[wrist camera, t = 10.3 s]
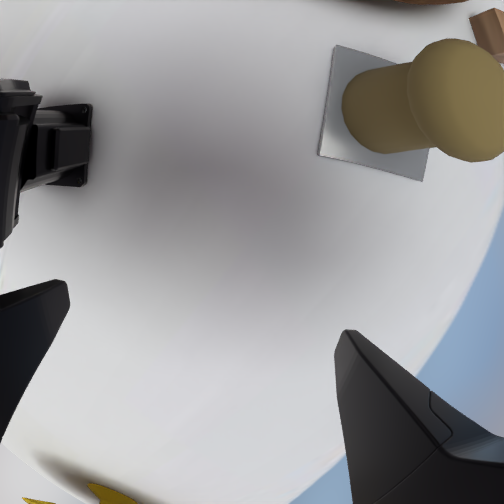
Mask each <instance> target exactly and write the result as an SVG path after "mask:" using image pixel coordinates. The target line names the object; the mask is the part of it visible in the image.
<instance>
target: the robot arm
mask: <svg viewBox="0 0 504 504" xmlns="http://www.w3.org/2000/svg"><path fill="white" fill-rule="evenodd" d="M41 99H42V96H41V95H37V94H35V92H34V91H31V90H30V87H29V83H28V81H24V80H14V79H0V248H2V247H3V245H4V240H5V239H6V238H7V237H8V236H9V235H10V234H11V233H12V230H13V228H14V227H15V226H16V225H17V224H18V220H19V215H18V205H19V196H20V192H23V191H26V190H29V189H31V188H34V187H38V186H41V185H44V184H45V185H60V186H73V187H81V186H84V185H85V184H86V181H87V162H88V158H89V143H90V131H91V130H90V123H91V114H92V106H91V105H90V104H73V105H63V106H54V107H46V108H38V104H40V102H41ZM37 108H38V109H37ZM85 108H87V111H86V112H84V110H85ZM80 178H81V180H82V181H81V183H80V181H79V179H80ZM69 308H70V299H69V293H68V287H67V284H66V282H65V281H62V280H58V279H54V280H50V281H47V282H43V283H40V284H36V285H33V286H29V287H26V288H22V289H19V290H16V291H12V292H9V293H6V294H2V295H0V443H1V440H2V437H3V435H4V433H5V431H6V429H7V426H8V424H9V422H10V420H11V418H12V416H13V414H14V412H15V410H16V407H17V405H18V403H19V401H20V400H21V398H22V396H23V394H24V392H25V390H26V388H27V386H28V384H29V382H30V381H31V379H32V377H33V375H34V373H35V372H36V370H37V368H38V366H39V365H40V363H41V361H42V359H43V358H44V356H45V354H46V353H47V351H48V349H49V348H50V346H51V344H52V342H53V340H54V338H55V336H56V334H57V332H58V330H59V328H60V326H61V324H62V322H63V320H64V318H65V316H66V314H67V313H68V311H69ZM334 361H335V375H336V392H337V401H338V407H339V413H340V418H341V424H342V430H343V436H344V443H345V449H346V456H347V463H348V470H349V476H350V485H351V493H352V501H353V504H504V438H503V437H499V436H496V435H494V434H492V433H490V432H488V431H487V430H486V429H484V428H483V427H481V426H480V425H478V424H477V423H475V422H474V421H472V420H471V419H469V418H468V417H466V416H465V415H463V414H462V413H461V412H459V411H458V410H456V409H455V408H453V407H452V406H451V405H449V404H448V403H447V402H445V401H444V400H443V399H441V398H440V397H439V396H438V395H437V394H435V393H434V392H433V391H430V389H429V388H428V387H426V386H425V385H424V384H423V383H422V382H420V381H419V380H418V379H417V378H415V377H414V376H413V375H412V374H410V373H409V372H408V371H407V370H405V369H404V368H403V367H402V366H400V365H399V364H398V363H397V362H395V361H394V360H393V359H392V358H390V357H389V356H388V355H387V354H385V353H384V352H383V351H382V350H380V349H379V348H378V347H377V346H375V345H374V344H373V343H372V342H370V341H369V340H368V339H367V338H365V337H364V336H363V335H362V334H360V333H359V332H358V331H356V330H347V329H346V330H344V331H343V332H342V334H341V336H340V339H339V341H338V344H337V347H336V349H335V353H334Z"/></svg>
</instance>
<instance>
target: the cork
mask: <svg viewBox="0 0 504 504" xmlns="http://www.w3.org/2000/svg"><path fill="white" fill-rule="evenodd" d="M341 109H342V114H343V118H344V122H345V124H346V126H347V128H348V130H349V132H350V134H351V135H352V136H353V137H354V138H355V139H356V140H357V141H358V142H359V143H360V144H361V145H362V146H364V147H366V148H367V149H369V150H371V151H373V152H377V153H382V154H390V153H398V152H405V151H411V150H418V149H425V148H433V147H437V148H439V149H440V150H441V151H443V152H444V153H446V154H447V155H449V156H451V157H454V158H457V159H460V160H463V161H467V162H481V161H488V160H492V159H493V158H495V157H497V156H498V155H500V154H501V153H502V152H504V70H503V68H502V66H501V65H500V63H499V62H498V61H497V60H496V59H495V58H494V57H493V56H492V55H491V54H490V53H489V52H487V51H486V50H484V49H482V48H481V47H479V46H477V45H475V44H473V43H471V42H469V41H465V40H460V39H443V40H440V41H437V42H433V43H431V44H429V45H427V46H426V47H425V48H424V49H423V50H422V51H421V52H420V53H419V54H418V55H417V56H416V57H415V59H414V60H413V62H409V63H403V64H397V65H391V66H386V67H381V68H376V69H371V70H367V71H365V72H362V73H360V74H358V75H356V76H355V77H354V78H353V79H352V80H351V81H350V82H349V83H348V84H347V86H346V88H345V91H344V93H343V95H342V107H341Z"/></svg>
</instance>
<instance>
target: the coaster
mask: <svg viewBox="0 0 504 504" xmlns="http://www.w3.org/2000/svg"><path fill="white" fill-rule="evenodd" d="M391 65H397V64H396V63H393V62H390V61H388V60H385V59H382V58H379V57H376V56H373V55H370V54H367V53H364V52H360V51H357V50H354V49H350V48H347V47H343V46H339V45H336V46H335V47H334V52H333V59H332V67H331V74H330V81H329V88H328V94H327V101H326V107H325V114H324V120H323V126H322V132H321V138H320V144H319V149H318V155H321V156H326V157H330V158H335V159H339V160H344V161H348V162H352V163H356V164H360V165H364V166H368V167H372V168H376V169H380V170H383V171H387V172H391V173H394V174H398V175H401V176H405V177H408V178H411V179H415V180H418V181H421V182H423V178H424V173H425V168H426V163H427V158H428V152H429V148H425V149H418V150H411V151H405V152H398V153H390V154H382V153H377V152H373V151H371V150H369V149H367V148H366V147H364V146H362V145H361V144H360V143H359V142H358V141H357V140H356V139H355V138H354V137H353V136H352V135H351V134H350V132H349V130H348V128H347V126H346V124H345V122H344V118H343V114H342V109H341V107H342V95H343V93H344V91H345V88H346V86H347V84H348V83H349V82H350V81H351V80H352V79H353V78H354V77H355V76H356V75H358V74H360V73H362V72H365V71H367V70H371V69H376V68H381V67H386V66H391Z"/></svg>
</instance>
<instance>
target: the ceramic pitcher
mask: <svg viewBox="0 0 504 504" xmlns="http://www.w3.org/2000/svg"><path fill="white" fill-rule="evenodd" d="M394 1H398V2H404V3H409V4H418V5H426V4H437V5H440V4H451V3H460V2H465V1H468V0H394Z"/></svg>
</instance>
